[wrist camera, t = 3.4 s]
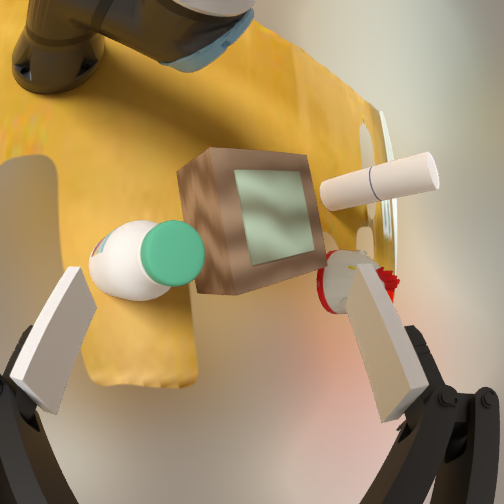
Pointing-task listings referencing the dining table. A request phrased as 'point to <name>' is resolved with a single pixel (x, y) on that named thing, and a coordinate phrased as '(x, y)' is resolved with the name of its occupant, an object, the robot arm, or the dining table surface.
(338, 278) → the kitchen timer
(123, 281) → the milk bottle
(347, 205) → the cylindrical container
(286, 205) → the walnut stand
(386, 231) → the dining table surface
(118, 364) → the dining table surface
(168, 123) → the dining table surface
